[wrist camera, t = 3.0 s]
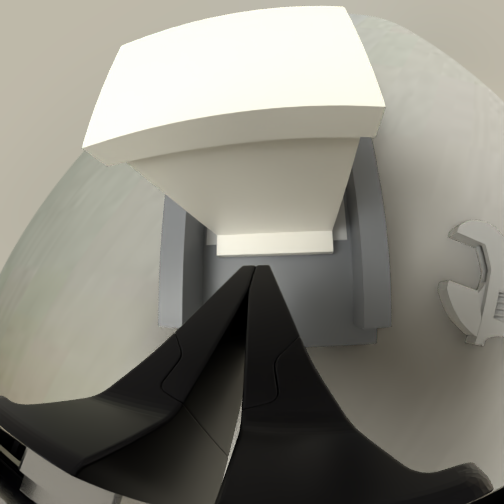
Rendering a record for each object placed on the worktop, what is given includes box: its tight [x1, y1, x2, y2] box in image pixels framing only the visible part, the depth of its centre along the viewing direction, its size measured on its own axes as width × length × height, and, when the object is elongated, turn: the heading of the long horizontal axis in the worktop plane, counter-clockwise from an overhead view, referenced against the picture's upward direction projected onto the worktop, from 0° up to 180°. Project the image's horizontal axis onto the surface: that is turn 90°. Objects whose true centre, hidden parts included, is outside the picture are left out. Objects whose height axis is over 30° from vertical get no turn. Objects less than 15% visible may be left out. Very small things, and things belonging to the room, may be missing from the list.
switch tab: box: [82, 6, 386, 257], centre depth 10 cm, size 5×6×10 cm
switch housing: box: [158, 137, 391, 347], centre depth 14 cm, size 18×10×6 cm, turn 0°
